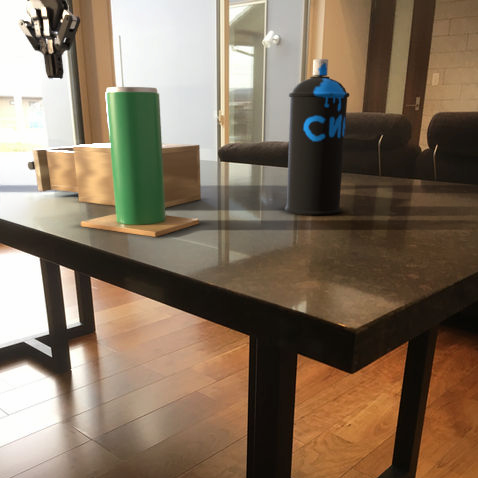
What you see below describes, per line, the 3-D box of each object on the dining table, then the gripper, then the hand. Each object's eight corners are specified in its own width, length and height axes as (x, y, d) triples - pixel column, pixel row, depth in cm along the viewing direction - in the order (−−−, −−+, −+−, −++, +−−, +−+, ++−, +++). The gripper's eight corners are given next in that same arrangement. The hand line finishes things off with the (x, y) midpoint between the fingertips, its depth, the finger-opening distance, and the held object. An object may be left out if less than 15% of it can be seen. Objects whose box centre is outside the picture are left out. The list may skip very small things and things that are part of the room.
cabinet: (79, 201, 84) (72, 145, 81) (129, 192, 93) (125, 142, 90) (155, 210, 77) (151, 149, 73) (201, 199, 86) (199, 144, 83)
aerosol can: (274, 208, 78) (278, 60, 71) (319, 204, 82) (327, 63, 74) (305, 217, 71) (313, 55, 64) (352, 212, 75) (365, 58, 67)
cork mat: (80, 226, 66) (80, 221, 65) (128, 215, 73) (128, 210, 73) (155, 237, 60) (155, 232, 60) (199, 223, 67) (199, 219, 67)
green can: (106, 221, 65) (93, 87, 60) (138, 214, 70) (129, 89, 65) (144, 226, 63) (135, 86, 57) (175, 218, 68) (169, 88, 62)
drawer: (21, 189, 91) (15, 148, 88) (69, 182, 99) (64, 145, 97) (100, 197, 82) (96, 152, 79) (145, 189, 91) (142, 148, 88)
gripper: (-5, -38, 85) (12, 78, 92) (51, -49, 79) (65, 76, 85) (33, -28, 91) (46, 80, 98) (88, -38, 85) (98, 78, 91)
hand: (55, 78), depth 92 cm, fingers closed
